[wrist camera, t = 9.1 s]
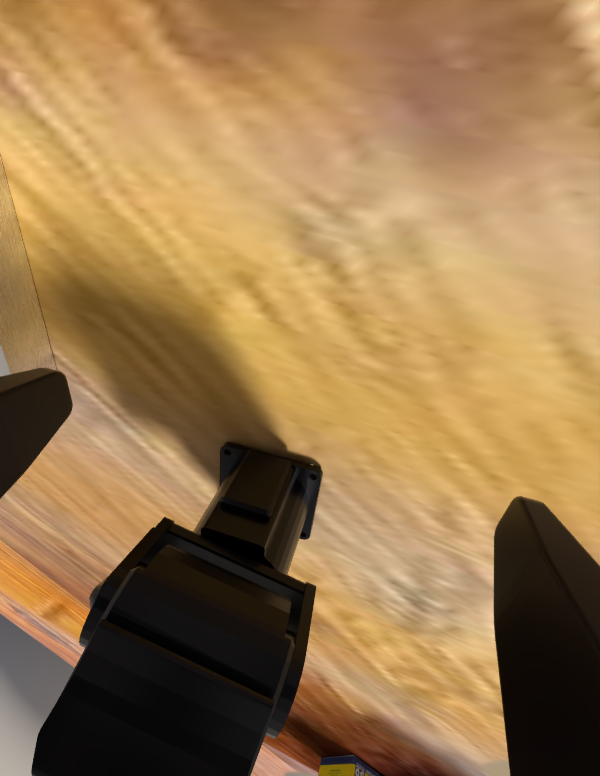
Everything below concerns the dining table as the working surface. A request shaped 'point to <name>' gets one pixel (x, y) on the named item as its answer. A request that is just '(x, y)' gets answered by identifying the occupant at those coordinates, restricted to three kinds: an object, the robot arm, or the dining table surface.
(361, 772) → the supplement box
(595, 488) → the dining table surface
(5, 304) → the rail
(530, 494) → the dining table surface
